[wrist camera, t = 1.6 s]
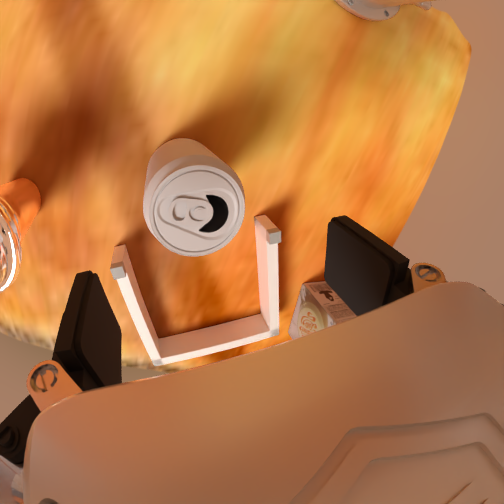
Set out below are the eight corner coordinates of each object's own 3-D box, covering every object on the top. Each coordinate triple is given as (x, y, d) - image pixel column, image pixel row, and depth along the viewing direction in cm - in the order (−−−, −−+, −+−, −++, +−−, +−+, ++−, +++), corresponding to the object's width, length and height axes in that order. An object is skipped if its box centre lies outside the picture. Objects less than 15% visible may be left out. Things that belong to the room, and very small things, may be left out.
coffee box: (322, 326, 44) (377, 402, 31) (286, 332, 42) (338, 417, 29) (339, 278, 40) (411, 354, 27) (301, 281, 38) (371, 369, 24)
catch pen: (264, 214, 31) (281, 231, 28) (269, 317, 39) (281, 339, 35) (114, 246, 27) (110, 269, 24) (152, 346, 35) (155, 371, 32)
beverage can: (205, 204, 29) (238, 265, 19) (142, 197, 26) (137, 258, 16) (219, 143, 26) (264, 169, 16) (153, 132, 24) (151, 151, 14)
